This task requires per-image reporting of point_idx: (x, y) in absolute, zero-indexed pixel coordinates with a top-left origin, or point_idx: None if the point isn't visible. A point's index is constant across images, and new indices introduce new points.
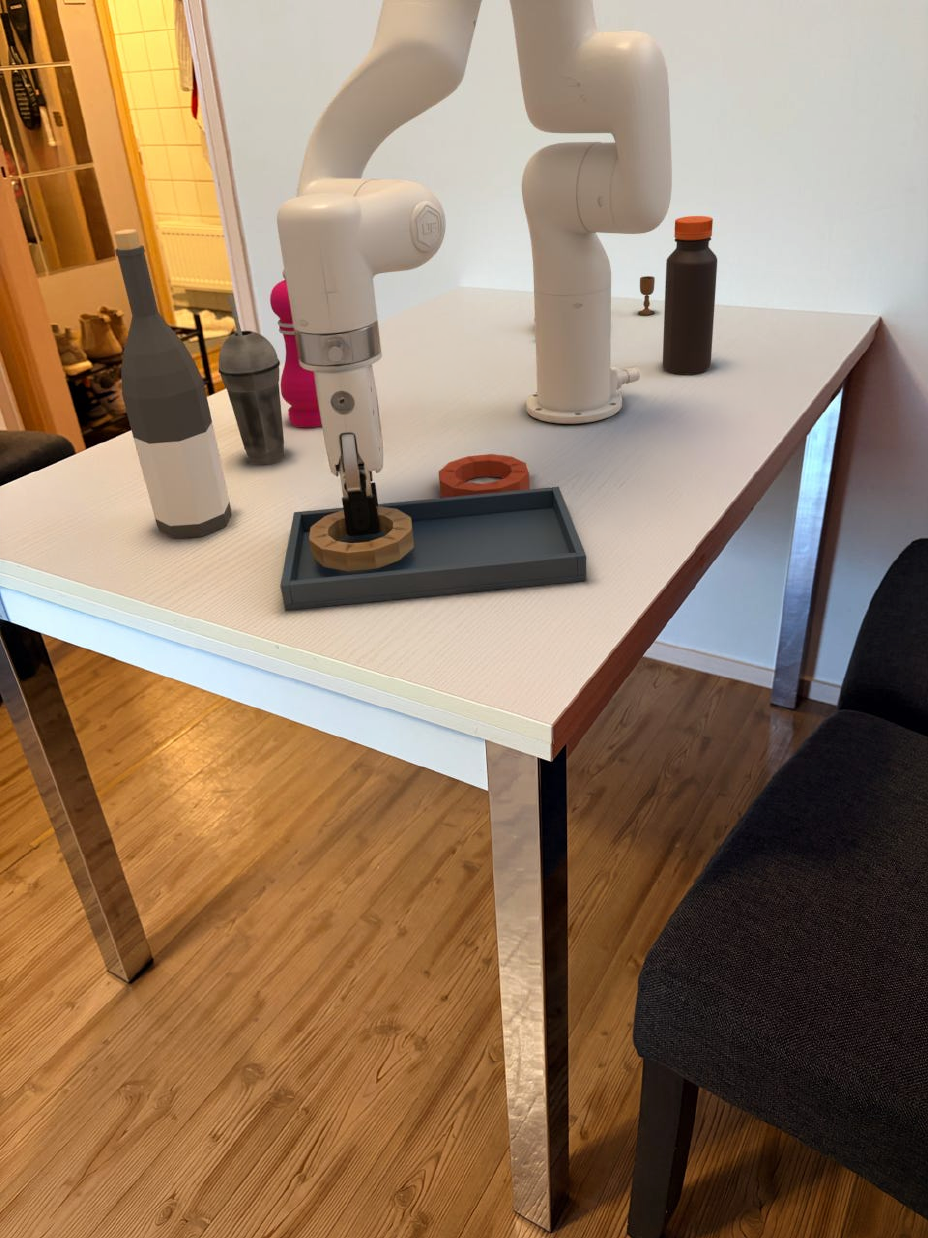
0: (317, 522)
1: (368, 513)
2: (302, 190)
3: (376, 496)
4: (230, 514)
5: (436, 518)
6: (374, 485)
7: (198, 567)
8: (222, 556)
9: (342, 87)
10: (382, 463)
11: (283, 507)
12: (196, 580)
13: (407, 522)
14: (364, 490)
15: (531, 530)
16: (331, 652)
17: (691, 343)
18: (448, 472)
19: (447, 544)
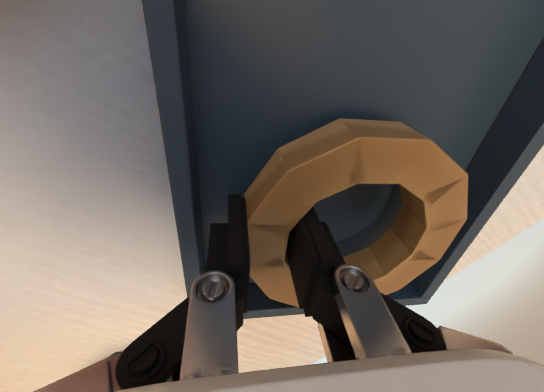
0: (293, 304)
1: (335, 244)
2: None
3: (243, 233)
4: (119, 354)
5: (186, 23)
6: (244, 261)
7: (262, 347)
8: (242, 337)
9: None
10: (518, 380)
11: (84, 312)
12: (292, 343)
13: (388, 148)
14: (411, 314)
15: None
16: (524, 226)
17: None
18: None
19: (361, 16)
